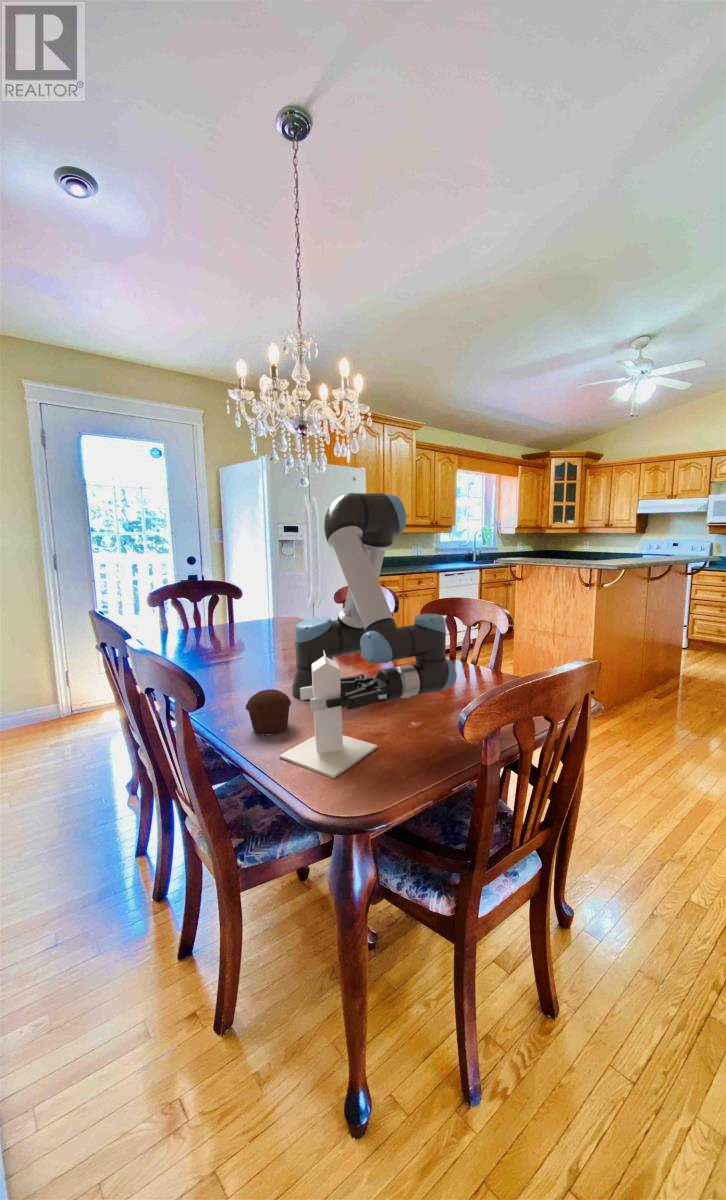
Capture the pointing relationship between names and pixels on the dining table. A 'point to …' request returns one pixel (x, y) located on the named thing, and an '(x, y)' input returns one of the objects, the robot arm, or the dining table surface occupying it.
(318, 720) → the milk
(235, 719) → the dining table surface
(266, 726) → the muffin
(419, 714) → the dining table surface
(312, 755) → the mat
